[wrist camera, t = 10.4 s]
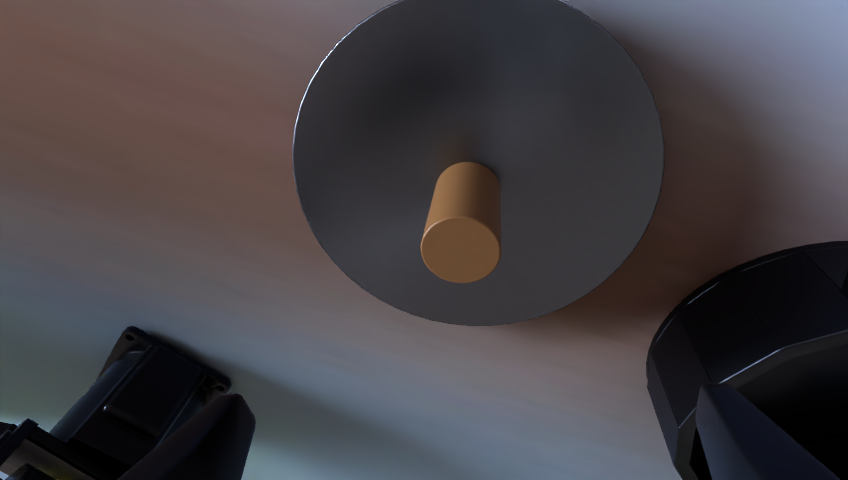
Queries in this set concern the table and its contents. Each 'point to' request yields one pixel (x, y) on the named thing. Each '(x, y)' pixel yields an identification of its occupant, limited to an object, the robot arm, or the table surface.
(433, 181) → the pan lid
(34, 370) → the table surface
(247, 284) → the table surface
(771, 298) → the pan
